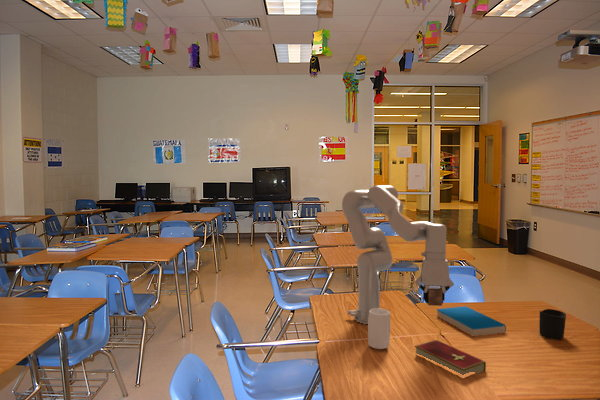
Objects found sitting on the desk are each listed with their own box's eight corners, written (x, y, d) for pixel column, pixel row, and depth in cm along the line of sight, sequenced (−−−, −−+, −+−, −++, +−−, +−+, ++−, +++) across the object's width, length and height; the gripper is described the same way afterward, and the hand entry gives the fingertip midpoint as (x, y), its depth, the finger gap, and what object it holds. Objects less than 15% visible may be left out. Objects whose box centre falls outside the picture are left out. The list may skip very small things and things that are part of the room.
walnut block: (428, 305, 158) (429, 289, 158) (425, 301, 163) (425, 286, 163) (442, 305, 158) (442, 290, 158) (438, 301, 163) (438, 286, 163)
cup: (373, 353, 154) (374, 316, 153) (363, 344, 162) (364, 308, 161) (393, 351, 156) (394, 314, 155) (383, 342, 165) (384, 307, 164)
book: (473, 328, 171) (436, 308, 195) (473, 338, 171) (435, 317, 195) (506, 324, 176) (466, 305, 200) (506, 334, 176) (466, 314, 200)
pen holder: (568, 341, 168) (570, 317, 167) (543, 339, 170) (544, 315, 169) (559, 332, 177) (560, 309, 176) (535, 330, 179) (536, 307, 178)
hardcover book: (436, 349, 160) (436, 338, 159) (485, 372, 142) (486, 360, 141) (414, 356, 153) (414, 345, 153) (462, 381, 136) (463, 368, 135)
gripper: (414, 257, 156) (413, 304, 157) (461, 258, 155) (459, 305, 156) (410, 253, 164) (409, 298, 165) (454, 254, 163) (453, 299, 164)
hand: (433, 301), depth 161 cm, fingers closed on walnut block, 5 cm apart
